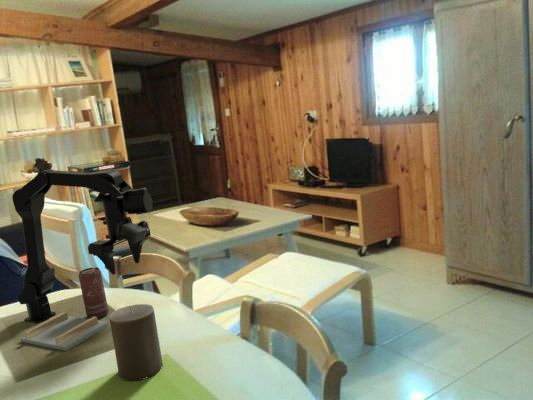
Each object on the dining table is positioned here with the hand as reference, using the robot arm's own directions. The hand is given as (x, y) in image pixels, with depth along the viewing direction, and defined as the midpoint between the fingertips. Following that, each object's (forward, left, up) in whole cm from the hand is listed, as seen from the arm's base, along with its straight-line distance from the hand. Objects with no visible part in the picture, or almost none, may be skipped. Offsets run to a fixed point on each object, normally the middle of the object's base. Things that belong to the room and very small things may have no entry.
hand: (125, 268), depth 142 cm
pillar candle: (+25, -24, -14) cm, 37 cm away
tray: (-10, -16, -14) cm, 23 cm away
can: (-10, -4, -14) cm, 18 cm away
